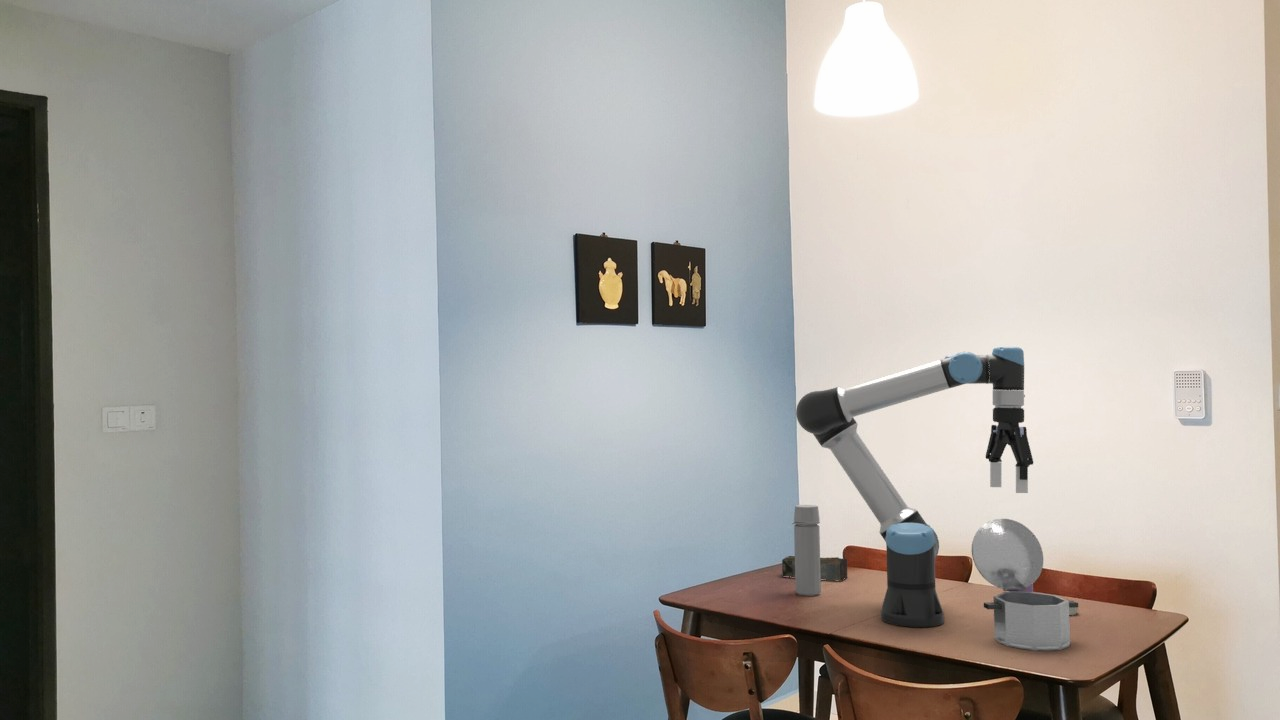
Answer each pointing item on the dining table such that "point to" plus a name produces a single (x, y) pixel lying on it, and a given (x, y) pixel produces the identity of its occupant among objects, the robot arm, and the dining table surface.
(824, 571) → the beverage carton
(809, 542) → the water bottle
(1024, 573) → the lid
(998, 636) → the pot
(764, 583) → the dining table surface
